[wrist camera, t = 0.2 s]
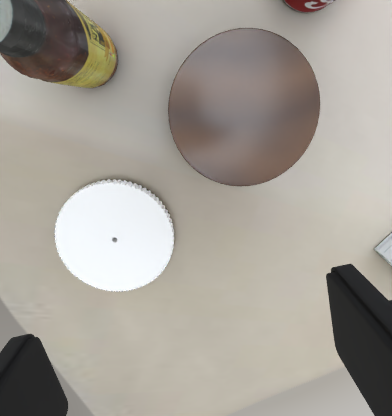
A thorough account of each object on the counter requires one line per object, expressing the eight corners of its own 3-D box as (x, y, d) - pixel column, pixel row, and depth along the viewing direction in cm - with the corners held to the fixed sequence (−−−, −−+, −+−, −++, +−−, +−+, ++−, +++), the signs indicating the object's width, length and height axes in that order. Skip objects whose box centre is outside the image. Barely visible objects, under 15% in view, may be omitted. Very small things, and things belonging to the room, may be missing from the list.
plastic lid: (124, 153, 40) (120, 157, 37) (196, 241, 43) (197, 249, 41) (37, 222, 42) (28, 229, 39) (113, 300, 46) (109, 311, 43)
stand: (157, 60, 37) (150, 50, 29) (284, 27, 36) (309, 9, 29) (188, 183, 41) (188, 200, 34) (303, 155, 40) (328, 167, 33)
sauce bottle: (129, 47, 36) (67, -11, 17) (103, 99, 38) (19, 100, 19) (73, 10, 35) (-60, -94, 16) (48, 66, 37) (-100, 31, 18)
